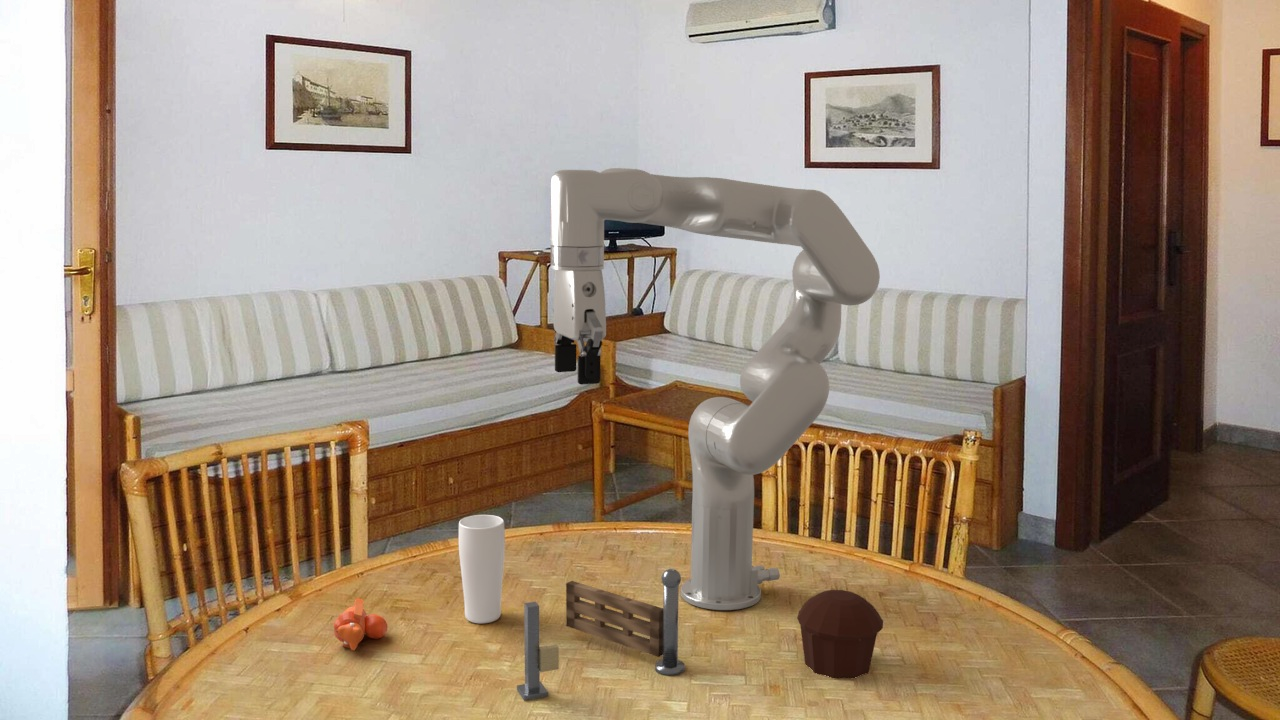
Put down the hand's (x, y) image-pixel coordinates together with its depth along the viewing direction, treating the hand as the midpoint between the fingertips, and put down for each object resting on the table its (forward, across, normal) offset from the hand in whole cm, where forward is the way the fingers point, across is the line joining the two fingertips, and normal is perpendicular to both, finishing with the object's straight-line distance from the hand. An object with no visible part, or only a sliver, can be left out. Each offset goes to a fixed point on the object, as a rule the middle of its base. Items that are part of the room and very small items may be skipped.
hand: (576, 377), depth 165 cm
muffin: (+37, -28, -28) cm, 54 cm away
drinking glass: (+37, +5, +13) cm, 39 cm away
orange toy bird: (+37, +4, +31) cm, 48 cm away
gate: (+35, -12, -1) cm, 37 cm away
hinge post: (+37, -21, -6) cm, 43 cm away
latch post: (+37, -21, +14) cm, 44 cm away
